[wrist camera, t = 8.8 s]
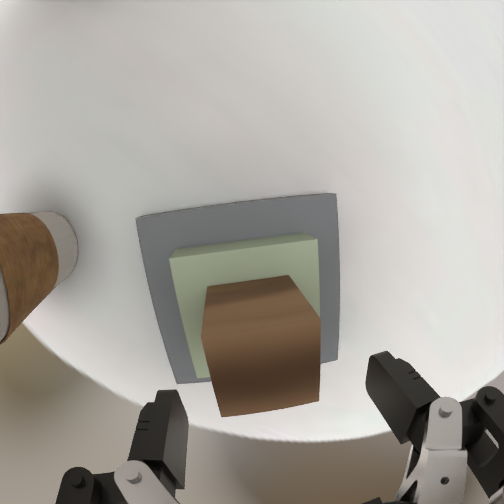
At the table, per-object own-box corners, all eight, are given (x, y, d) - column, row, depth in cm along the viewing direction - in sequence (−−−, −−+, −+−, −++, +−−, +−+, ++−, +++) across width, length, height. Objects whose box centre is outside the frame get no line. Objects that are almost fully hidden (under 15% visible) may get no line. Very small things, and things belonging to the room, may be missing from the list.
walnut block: (207, 286, 16) (200, 337, 11) (288, 274, 17) (320, 318, 11) (220, 353, 18) (221, 417, 12) (292, 342, 18) (318, 400, 12)
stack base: (141, 216, 19) (123, 223, 15) (328, 193, 20) (351, 195, 16) (178, 373, 22) (173, 403, 18) (331, 350, 23) (348, 376, 20)
